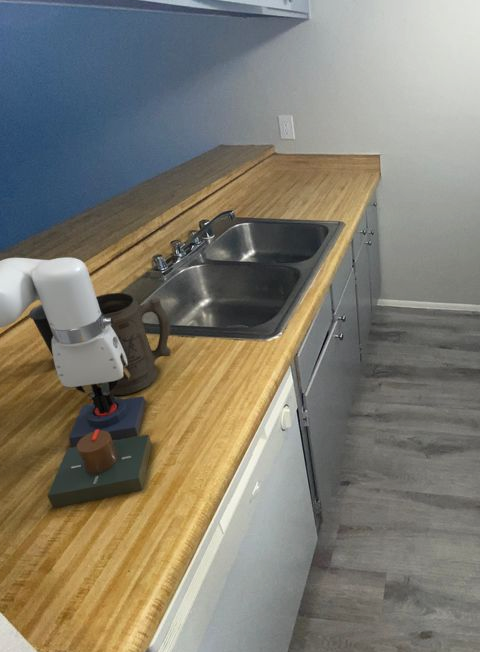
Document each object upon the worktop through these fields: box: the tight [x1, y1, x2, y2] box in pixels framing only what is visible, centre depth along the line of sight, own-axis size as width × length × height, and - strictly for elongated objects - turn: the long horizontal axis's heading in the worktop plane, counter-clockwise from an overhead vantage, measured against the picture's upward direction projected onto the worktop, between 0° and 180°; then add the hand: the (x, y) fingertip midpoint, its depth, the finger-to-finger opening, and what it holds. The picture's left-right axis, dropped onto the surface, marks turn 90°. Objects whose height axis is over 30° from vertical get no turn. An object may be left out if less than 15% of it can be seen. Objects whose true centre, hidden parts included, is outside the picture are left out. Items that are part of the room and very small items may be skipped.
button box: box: [68, 395, 147, 448], centre depth 91 cm, size 11×9×4 cm
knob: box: [76, 429, 118, 474], centre depth 79 cm, size 5×5×5 cm
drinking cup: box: [28, 303, 53, 357], centre depth 105 cm, size 8×8×20 cm
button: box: [95, 403, 117, 417], centre depth 91 cm, size 4×4×2 cm
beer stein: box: [96, 292, 172, 396], centre depth 101 cm, size 15×11×20 cm
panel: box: [47, 433, 153, 509], centre depth 81 cm, size 13×10×3 cm
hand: (106, 407), depth 90 cm, fingers closed
